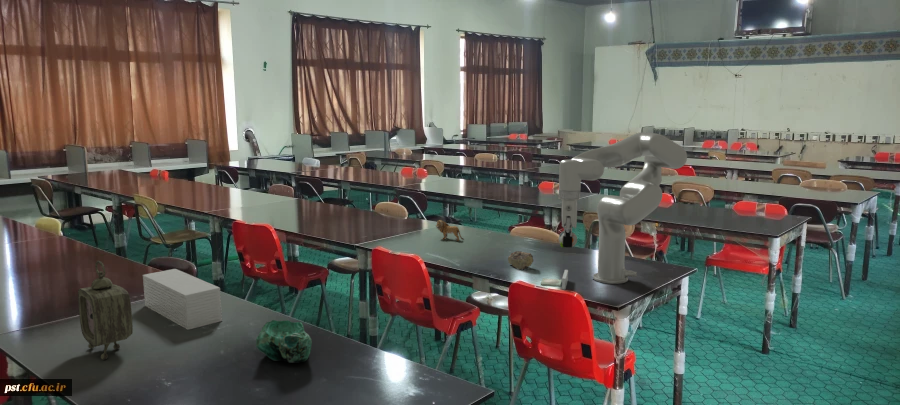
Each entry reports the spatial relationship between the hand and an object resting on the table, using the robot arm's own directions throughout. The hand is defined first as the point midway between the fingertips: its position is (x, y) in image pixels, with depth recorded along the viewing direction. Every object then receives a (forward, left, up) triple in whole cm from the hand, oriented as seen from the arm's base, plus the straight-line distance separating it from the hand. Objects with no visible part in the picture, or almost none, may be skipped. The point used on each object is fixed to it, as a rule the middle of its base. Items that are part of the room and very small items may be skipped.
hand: (567, 244), depth 229 cm
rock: (+20, -23, -16) cm, 34 cm away
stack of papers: (+116, +58, -16) cm, 131 cm away
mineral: (+66, +83, -16) cm, 107 cm away
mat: (+6, -4, -16) cm, 17 cm away
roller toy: (0, 0, -1) cm, 1 cm away
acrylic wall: (+1, -3, -16) cm, 16 cm away
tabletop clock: (+115, +90, -16) cm, 147 cm away
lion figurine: (+61, -67, -16) cm, 92 cm away
